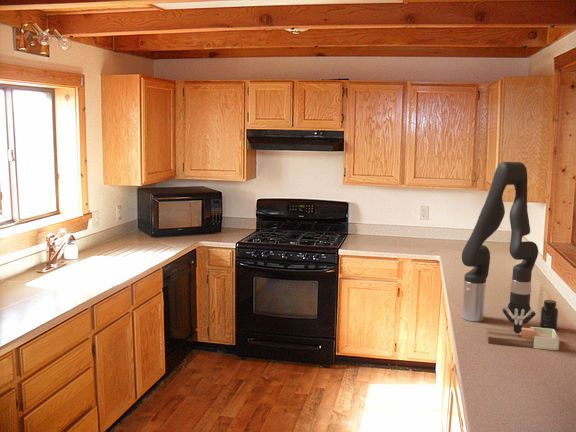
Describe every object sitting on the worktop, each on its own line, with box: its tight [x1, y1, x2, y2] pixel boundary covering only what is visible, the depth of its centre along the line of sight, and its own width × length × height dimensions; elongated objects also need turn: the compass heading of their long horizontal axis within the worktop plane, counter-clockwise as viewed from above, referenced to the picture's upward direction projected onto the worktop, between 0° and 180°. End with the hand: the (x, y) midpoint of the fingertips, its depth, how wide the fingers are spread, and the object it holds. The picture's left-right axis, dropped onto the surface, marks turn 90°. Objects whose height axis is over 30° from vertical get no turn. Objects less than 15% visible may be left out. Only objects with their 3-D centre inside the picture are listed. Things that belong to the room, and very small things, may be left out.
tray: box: [529, 326, 560, 351], centre depth 247 cm, size 12×9×5 cm
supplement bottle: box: [539, 299, 559, 331], centre depth 265 cm, size 7×7×12 cm
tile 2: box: [533, 334, 548, 340], centre depth 247 cm, size 5×5×2 cm
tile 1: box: [520, 327, 536, 339], centre depth 248 cm, size 5×5×2 cm
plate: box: [485, 327, 534, 349], centre depth 250 cm, size 11×17×2 cm, turn 76°
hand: (517, 332), depth 249 cm, fingers closed
